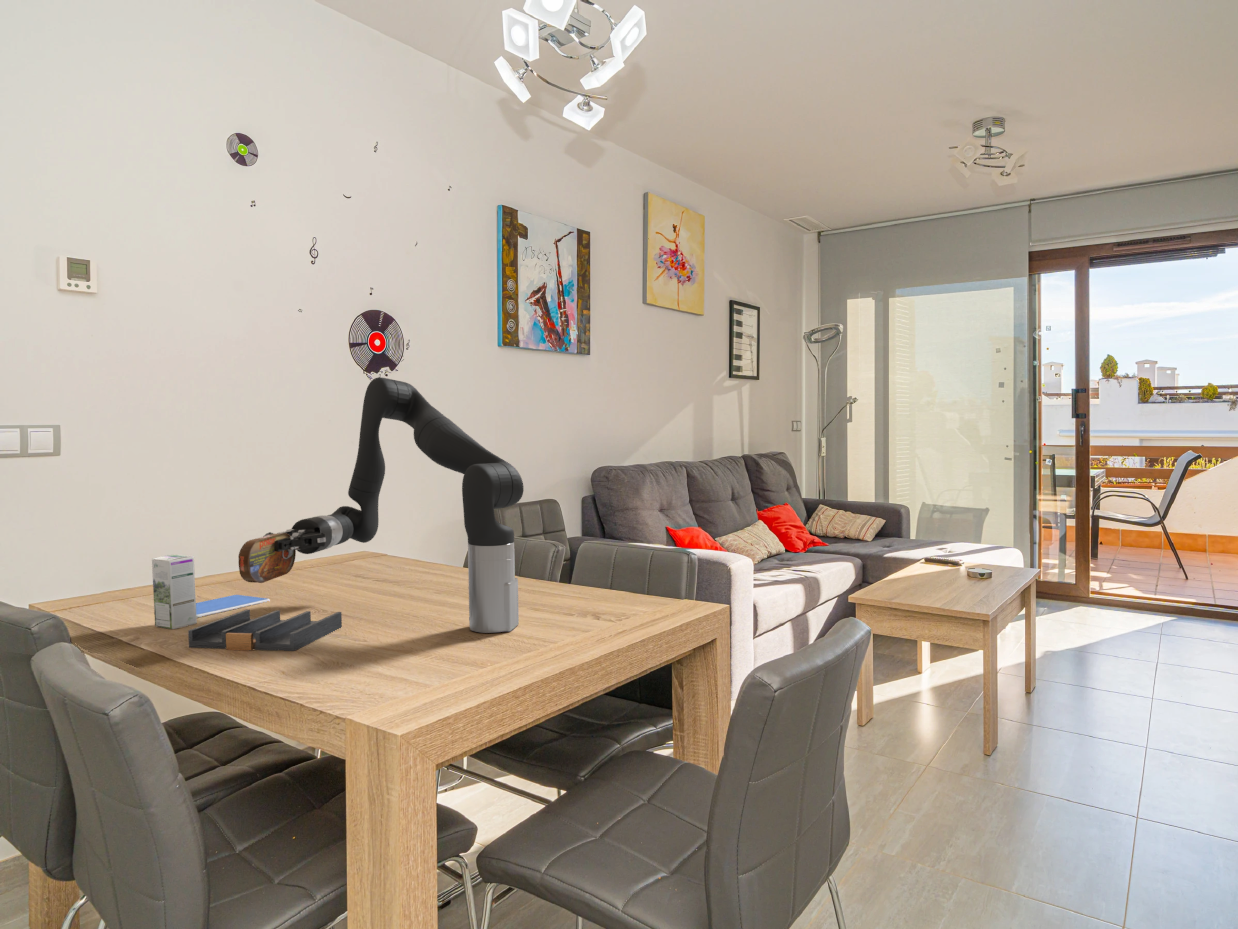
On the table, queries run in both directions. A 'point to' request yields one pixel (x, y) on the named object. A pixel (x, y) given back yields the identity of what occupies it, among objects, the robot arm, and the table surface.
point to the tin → (264, 559)
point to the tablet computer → (226, 604)
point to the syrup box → (174, 591)
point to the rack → (262, 631)
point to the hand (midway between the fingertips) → (268, 546)
